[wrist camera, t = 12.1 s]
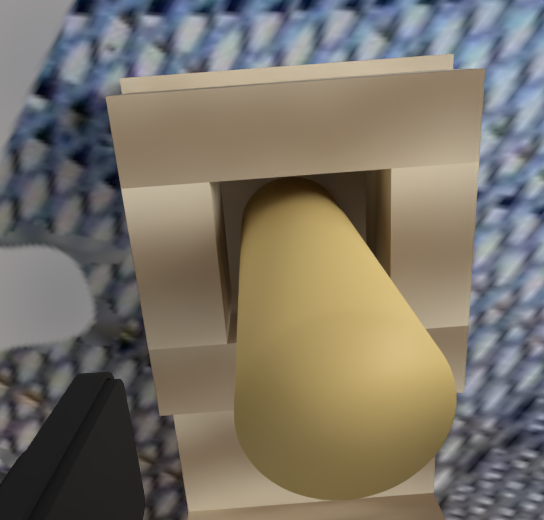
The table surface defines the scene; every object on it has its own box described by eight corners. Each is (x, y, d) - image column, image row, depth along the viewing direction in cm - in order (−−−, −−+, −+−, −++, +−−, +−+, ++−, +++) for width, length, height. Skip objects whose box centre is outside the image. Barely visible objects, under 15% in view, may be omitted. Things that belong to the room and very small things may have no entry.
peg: (342, 269, 21) (449, 491, 10) (245, 277, 21) (243, 508, 10) (341, 173, 20) (463, 302, 9) (236, 180, 20) (224, 320, 9)
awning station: (429, 493, 28) (669, 1071, 12) (188, 511, 28) (95, 1117, 12) (448, 54, 20) (1172, -20, 4) (119, 79, 20) (-401, 97, 4)
